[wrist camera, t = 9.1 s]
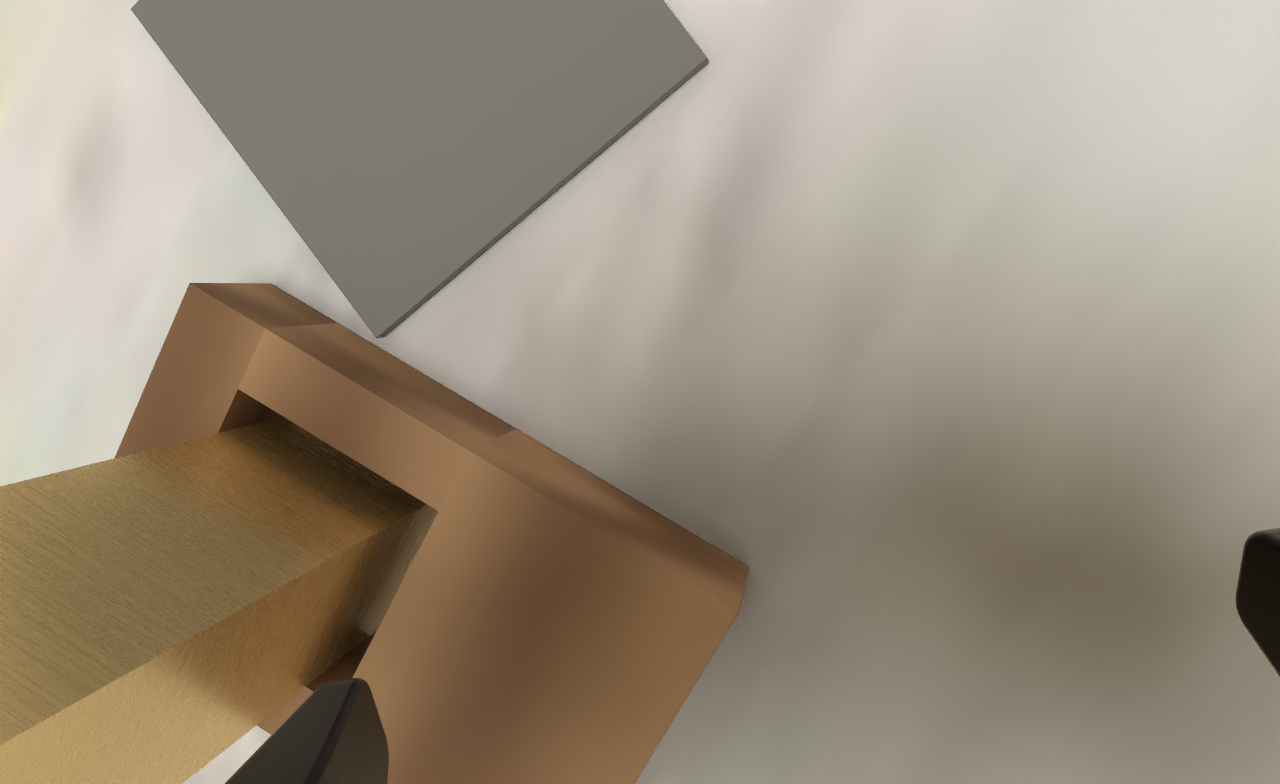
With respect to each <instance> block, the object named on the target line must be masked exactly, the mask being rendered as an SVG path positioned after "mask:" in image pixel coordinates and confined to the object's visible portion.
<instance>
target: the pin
mask: <svg viewBox="0 0 1280 784" xmlns="http://www.w3.org/2000/svg"><path fill="white" fill-rule="evenodd" d="M437 513H438V511H437V510H435V509H434V508H432V507H431V506H429V505H427V504H426V503H424V502H422V501H421V500H419V499H417V498H416V497H414V496H413V495H411V494H409V493H408V492H406V491H404V490H403V489H401V488H399V487H398V486H396V485H395V484H393V483H391V482H390V481H388V480H386V479H385V478H383V477H381V476H380V475H378V474H377V473H375V472H373V471H372V470H370V469H368V468H367V467H365V466H363V465H362V464H360V463H359V462H357V461H355V460H354V459H352V458H350V457H349V456H347V455H345V454H344V453H342V452H341V451H339V450H337V449H336V448H334V447H332V446H331V445H329V444H327V443H326V442H324V441H323V440H321V439H319V438H318V437H316V436H314V435H313V434H311V433H309V432H308V431H306V430H305V429H303V428H301V427H300V426H298V425H296V424H295V423H293V422H291V421H290V420H288V419H287V418H285V417H281V418H277V419H273V420H269V421H265V422H260V423H256V424H252V425H248V426H244V427H240V428H236V429H232V430H228V431H224V432H220V433H216V434H212V435H208V436H204V437H200V438H196V439H192V440H188V441H183V442H179V443H175V444H171V445H167V446H163V447H159V448H155V449H151V450H147V451H143V452H139V453H135V454H131V455H127V456H123V457H119V458H115V459H110V460H106V461H102V462H98V463H94V464H90V465H86V466H82V467H78V468H74V469H70V470H66V471H62V472H58V473H54V474H50V475H46V476H42V477H37V478H33V479H29V480H25V481H21V482H17V483H13V484H9V485H5V486H1V487H0V784H182V783H184V782H185V781H186V780H187V779H189V778H190V777H191V776H192V775H194V774H195V773H196V772H198V771H199V770H200V769H201V768H203V767H204V766H205V765H206V764H208V763H209V762H210V761H211V760H213V759H214V758H215V757H217V756H218V755H219V754H220V753H222V752H223V751H224V750H225V749H227V748H228V747H229V746H231V745H232V744H233V743H234V742H236V741H237V740H238V739H239V738H241V737H242V736H243V735H244V734H246V733H247V732H248V731H250V730H251V729H252V728H253V727H255V726H256V725H257V724H258V723H260V722H261V721H262V720H264V719H265V718H266V717H267V716H269V715H270V714H271V713H272V712H274V711H275V710H276V709H277V708H279V707H280V706H281V705H283V704H284V703H285V702H286V701H288V700H289V699H290V698H291V697H293V696H294V695H295V694H296V693H298V692H299V691H300V690H302V689H303V688H304V687H305V686H307V685H308V684H309V683H310V682H312V681H313V680H314V679H316V678H317V677H318V676H319V675H321V674H322V673H323V672H324V671H326V670H327V669H328V668H329V667H331V666H332V665H333V664H335V663H336V662H337V661H338V660H340V659H341V658H342V657H343V656H345V655H346V654H347V653H349V652H350V651H351V650H352V649H354V648H355V647H356V646H357V645H359V644H360V643H361V642H362V641H364V640H365V639H366V638H368V637H369V636H370V635H371V634H373V633H374V632H375V631H376V630H377V629H378V628H379V626H380V624H381V622H382V620H383V618H384V616H385V614H386V612H387V610H388V608H389V606H390V604H391V602H392V600H393V598H394V597H395V595H396V593H397V591H398V589H399V587H400V585H401V583H402V581H403V579H404V577H405V575H406V573H407V571H408V569H409V567H410V566H411V564H412V562H413V560H414V558H415V556H416V554H417V552H418V550H419V548H420V546H421V544H422V542H423V540H424V538H425V536H426V535H427V533H428V531H429V529H430V527H431V525H432V523H433V521H434V519H435V517H436V515H437Z"/></svg>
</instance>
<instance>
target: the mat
mask: <svg viewBox="0 0 1280 784" xmlns="http://www.w3.org/2000/svg"><path fill="white" fill-rule="evenodd" d="M131 10H132V12H133V13H134V14H135V16H136V17H137V18H138V20H139V21H140V22H141V24H142V25H143V26H144V28H145V29H146V30H147V32H148V33H149V34H150V36H151V37H152V38H153V40H154V41H155V42H156V44H157V45H158V46H159V48H160V49H161V50H162V52H163V53H164V54H165V56H166V57H167V58H168V60H169V61H170V62H171V64H172V65H173V66H174V68H175V69H176V70H177V72H178V73H179V74H180V76H181V77H182V78H183V80H184V81H185V82H186V84H187V85H188V86H189V88H190V89H191V90H192V92H193V93H194V94H195V96H196V97H197V99H198V100H199V101H200V103H201V104H202V105H203V107H204V108H205V109H206V111H207V112H208V113H209V115H210V116H211V117H212V119H213V120H214V121H215V123H216V124H217V125H218V127H219V128H220V129H221V131H222V132H223V133H224V135H225V136H226V137H227V139H228V140H229V141H230V143H231V144H232V145H233V147H234V148H235V149H236V151H237V152H238V153H239V155H240V156H241V157H242V159H243V160H244V161H245V163H246V164H247V165H248V167H249V168H250V169H251V171H252V172H253V173H254V175H255V176H256V177H257V179H258V180H259V181H260V183H261V184H262V186H263V187H264V188H265V190H266V191H267V192H268V194H269V195H270V196H271V198H272V199H273V200H274V202H275V203H276V204H277V206H278V207H279V208H280V210H281V211H282V212H283V214H284V215H285V216H286V218H287V219H288V220H289V222H290V223H291V224H292V226H293V227H294V228H295V230H296V231H297V232H298V234H299V235H300V236H301V238H302V239H303V240H304V242H305V243H306V244H307V246H308V247H309V248H310V250H311V251H312V252H313V254H314V255H315V256H316V258H317V259H318V260H319V262H320V263H321V264H322V266H323V267H324V268H325V270H326V271H327V272H328V274H329V275H330V277H331V278H332V279H333V281H334V282H335V283H336V285H337V286H338V287H339V289H340V290H341V291H342V293H343V294H344V295H345V297H346V298H347V299H348V301H349V302H350V303H351V305H352V306H353V307H354V309H355V310H356V311H357V313H358V314H359V315H360V317H361V318H362V319H363V321H364V322H365V323H366V325H367V326H368V327H369V329H370V330H371V331H372V333H373V334H374V335H375V337H376V338H379V337H385V336H386V335H387V334H388V333H389V332H390V331H392V330H393V329H394V328H395V327H396V326H398V325H399V324H400V323H401V322H402V321H403V320H405V319H406V318H407V317H408V316H409V315H411V314H412V313H413V312H414V311H415V310H416V309H418V308H419V307H420V306H421V305H422V304H424V303H425V302H426V301H427V300H428V299H429V298H431V297H432V296H433V295H434V294H435V293H437V292H438V291H439V290H440V289H441V288H442V287H444V286H445V285H446V284H447V283H448V282H450V281H451V280H452V279H453V278H454V277H455V276H457V275H458V274H459V273H460V272H461V271H463V270H464V269H465V268H466V267H467V266H468V265H470V264H471V263H472V262H473V261H474V260H476V259H477V258H478V257H479V256H480V255H481V254H483V253H484V252H485V251H486V250H487V249H489V248H490V247H491V246H492V245H493V244H494V243H496V242H497V241H498V240H499V239H500V238H502V237H503V236H504V235H505V234H506V233H507V232H509V231H510V230H511V229H512V228H513V227H515V226H516V225H517V224H518V223H519V222H520V221H522V220H523V219H524V218H525V217H526V216H528V215H529V214H530V213H531V212H532V211H533V210H535V209H536V208H537V207H538V206H539V205H541V204H542V203H543V202H544V201H545V200H546V199H548V198H549V197H550V196H551V195H552V194H554V193H555V192H556V191H557V190H558V189H559V188H561V187H562V186H563V185H564V184H565V183H567V182H568V181H569V180H570V179H571V178H572V177H574V176H575V175H576V174H577V173H578V172H580V171H581V170H582V169H583V168H584V167H585V166H587V165H588V164H589V163H590V162H591V161H593V160H594V159H595V158H596V157H597V156H598V155H600V154H601V153H602V152H603V151H604V150H606V149H607V148H608V147H609V146H610V145H611V144H613V143H614V142H615V141H616V140H617V139H619V138H620V137H621V136H622V135H623V134H624V133H626V132H627V131H628V130H629V129H630V128H632V127H633V126H634V125H635V124H636V123H637V122H639V121H640V120H641V119H642V118H643V117H645V116H646V115H647V114H648V113H649V112H650V111H652V110H653V109H654V108H655V107H656V106H658V105H659V104H660V103H661V102H662V101H663V100H665V99H666V98H667V97H668V96H669V95H671V94H672V93H673V92H674V91H675V90H676V89H678V88H679V87H680V86H681V85H682V84H684V83H685V82H686V81H687V80H688V79H689V78H691V77H692V76H693V75H694V74H695V73H697V72H698V71H699V70H700V69H701V68H702V67H704V66H705V65H706V64H707V63H708V62H709V61H708V59H707V57H706V56H705V55H704V53H703V52H702V51H701V49H700V48H699V47H698V45H697V44H696V43H695V42H694V40H693V39H692V38H691V36H690V35H689V34H688V32H687V31H686V30H685V28H684V27H683V26H682V25H681V23H680V22H679V21H678V19H677V18H676V17H675V15H674V14H673V13H672V11H671V10H670V9H669V8H668V6H667V5H666V4H665V2H664V1H663V0H139V1H138V2H137V3H136V4H135V5H134V6H133V7H132V8H131Z"/></svg>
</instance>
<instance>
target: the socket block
mask: <svg viewBox="0 0 1280 784" xmlns="http://www.w3.org/2000/svg"><path fill="white" fill-rule="evenodd" d="M281 417H285V418H287V419H288V420H290V421H291V422H293V423H295V424H296V425H298V426H300V427H301V428H303V429H305V430H306V431H308V432H309V433H311V434H313V435H314V436H316V437H318V438H319V439H321V440H323V441H324V442H326V443H327V444H329V445H331V446H332V447H334V448H336V449H337V450H339V451H341V452H342V453H344V454H345V455H347V456H349V457H350V458H352V459H354V460H355V461H357V462H359V463H360V464H362V465H363V466H365V467H367V468H368V469H370V470H372V471H373V472H375V473H377V474H378V475H380V476H381V477H383V478H385V479H386V480H388V481H390V482H391V483H393V484H395V485H396V486H398V487H399V488H401V489H403V490H404V491H406V492H408V493H409V494H411V495H413V496H414V497H416V498H417V499H419V500H421V501H422V502H424V503H426V504H427V505H429V506H431V507H432V508H434V509H435V510H437V511H438V513H437V515H436V517H435V519H434V521H433V523H432V525H431V527H430V529H429V531H428V533H427V535H426V536H425V538H424V540H423V542H422V544H421V546H420V548H419V550H418V552H417V554H416V556H415V558H414V560H413V562H412V564H411V566H410V567H409V569H408V571H407V573H406V575H405V577H404V579H403V581H402V583H401V585H400V587H399V589H398V591H397V593H396V595H395V597H394V598H393V600H392V602H391V604H390V606H389V608H388V610H387V612H386V614H385V616H384V618H383V620H382V622H381V624H380V626H379V628H378V629H377V631H376V633H375V635H374V637H373V638H372V637H370V636H369V637H368V638H366V639H365V640H364V641H362V642H361V643H360V644H359V645H357V646H356V647H355V648H354V649H352V650H351V651H350V652H349V653H347V654H346V655H345V656H343V657H342V658H341V659H340V660H338V661H337V662H336V663H335V664H333V665H332V666H331V667H329V668H328V669H327V670H326V671H324V672H323V673H322V674H321V675H319V676H318V677H317V678H316V679H314V680H313V681H312V682H310V683H309V684H308V685H307V686H305V687H304V688H303V689H302V690H300V691H299V692H298V693H296V694H295V695H294V696H293V697H291V698H290V699H289V700H288V701H286V702H285V703H284V704H283V705H281V706H280V707H279V708H277V709H276V710H275V711H274V712H272V713H271V714H270V715H269V716H267V717H266V718H265V719H264V720H262V721H261V722H260V723H258V724H257V726H259V727H260V728H262V729H263V730H265V731H266V732H268V733H269V734H271V735H272V734H273V733H274V732H275V731H276V730H277V729H278V728H279V727H280V726H281V725H282V724H283V723H284V722H285V721H286V720H287V719H288V718H289V717H290V716H291V715H292V714H293V713H294V712H295V711H296V710H297V709H298V708H299V707H300V706H301V705H302V704H303V703H304V702H305V701H306V700H307V699H308V697H309V696H310V695H311V694H312V693H313V692H314V691H315V690H316V689H317V688H319V687H320V686H321V685H323V684H325V683H328V682H333V681H339V680H346V679H352V678H361V679H363V680H365V681H366V682H367V684H368V685H369V687H370V689H371V692H372V695H373V698H374V701H375V704H376V707H377V710H378V713H379V716H380V720H381V723H382V726H383V729H384V732H385V735H386V738H387V743H388V750H389V769H388V782H387V784H635V782H636V780H637V779H638V777H639V775H640V774H641V772H642V770H643V769H644V767H645V765H646V764H647V762H648V761H649V759H650V757H651V756H652V754H653V752H654V751H655V749H656V747H657V746H658V744H659V742H660V741H661V739H662V737H663V736H664V734H665V732H666V731H667V729H668V728H669V726H670V724H671V723H672V721H673V719H674V718H675V716H676V714H677V713H678V711H679V709H680V708H681V706H682V704H683V703H684V701H685V700H686V698H687V696H688V695H689V693H690V691H691V690H692V688H693V686H694V685H695V683H696V681H697V680H698V678H699V676H700V675H701V673H702V672H703V670H704V668H705V667H706V665H707V663H708V662H709V660H710V658H711V657H712V655H713V653H714V652H715V650H716V648H717V647H718V645H719V643H720V642H721V640H722V639H723V637H724V635H725V634H726V632H727V630H728V629H729V627H730V625H731V624H732V622H733V620H734V619H735V617H736V615H737V614H738V612H739V608H740V603H741V599H742V595H743V590H744V586H745V582H746V578H747V573H748V569H749V567H748V566H746V565H744V564H743V563H741V562H739V561H738V560H736V559H734V558H733V557H731V556H729V555H727V554H726V553H724V552H722V551H721V550H719V549H717V548H716V547H714V546H712V545H711V544H709V543H707V542H706V541H704V540H702V539H700V538H699V537H697V536H695V535H694V534H692V533H690V532H689V531H687V530H685V529H684V528H682V527H680V526H679V525H677V524H675V523H673V522H672V521H670V520H668V519H667V518H665V517H663V516H662V515H660V514H658V513H657V512H655V511H653V510H652V509H650V508H648V507H647V506H645V505H643V504H641V503H640V502H638V501H636V500H635V499H633V498H631V497H630V496H628V495H626V494H625V493H623V492H621V491H620V490H618V489H616V488H614V487H613V486H611V485H609V484H608V483H606V482H604V481H603V480H601V479H599V478H598V477H596V476H594V475H593V474H591V473H589V472H587V471H586V470H584V469H582V468H581V467H579V466H577V465H576V464H574V463H572V462H571V461H569V460H567V459H566V458H564V457H562V456H561V455H559V454H557V453H555V452H554V451H552V450H550V449H549V448H547V447H545V446H544V445H542V444H540V443H539V442H537V441H535V440H534V439H532V438H530V437H528V436H527V435H525V434H523V433H522V432H520V431H518V430H517V429H515V428H513V427H512V426H510V425H508V424H507V423H505V422H503V421H501V420H500V419H498V418H496V417H495V416H493V415H491V414H490V413H488V412H486V411H485V410H483V409H481V408H480V407H478V406H476V405H475V404H473V403H471V402H469V401H468V400H466V399H464V398H463V397H461V396H459V395H458V394H456V393H454V392H453V391H451V390H449V389H448V388H446V387H444V386H442V385H441V384H439V383H437V382H436V381H434V380H432V379H431V378H429V377H427V376H426V375H424V374H422V373H421V372H419V371H417V370H415V369H414V368H412V367H410V366H409V365H407V364H405V363H404V362H402V361H400V360H399V359H397V358H395V357H394V356H392V355H390V354H389V353H387V352H385V351H383V350H382V349H380V348H378V347H377V346H375V345H373V344H372V343H370V342H368V341H367V340H365V339H363V338H362V337H360V336H358V335H356V334H355V333H353V332H351V331H350V330H348V329H346V328H345V327H343V326H341V325H340V324H338V323H336V322H335V321H333V320H331V319H329V318H328V317H326V316H324V315H323V314H321V313H319V312H318V311H316V310H314V309H313V308H311V307H309V306H308V305H306V304H304V303H303V302H301V301H299V300H297V299H296V298H294V297H292V296H291V295H289V294H287V293H286V292H284V291H282V290H281V289H279V288H277V287H276V286H274V285H272V284H249V283H190V284H189V286H188V288H187V291H186V293H185V295H184V298H183V300H182V302H181V305H180V307H179V309H178V312H177V314H176V316H175V319H174V321H173V323H172V326H171V328H170V330H169V333H168V335H167V337H166V340H165V342H164V344H163V346H162V349H161V351H160V353H159V356H158V358H157V360H156V363H155V365H154V367H153V370H152V372H151V374H150V377H149V379H148V381H147V384H146V386H145V388H144V391H143V393H142V395H141V398H140V400H139V402H138V405H137V407H136V409H135V412H134V414H133V416H132V419H131V421H130V423H129V426H128V428H127V430H126V433H125V435H124V437H123V440H122V442H121V444H120V447H119V449H118V451H117V454H116V456H115V458H119V457H123V456H127V455H131V454H135V453H139V452H143V451H147V450H151V449H155V448H159V447H163V446H167V445H171V444H175V443H179V442H183V441H188V440H192V439H196V438H200V437H204V436H208V435H212V434H216V433H220V432H224V431H228V430H232V429H236V428H240V427H244V426H248V425H252V424H256V423H260V422H265V421H269V420H273V419H277V418H281ZM115 458H114V459H115Z"/></svg>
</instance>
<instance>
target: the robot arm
mask: <svg viewBox="0 0 1280 784" xmlns="http://www.w3.org/2000/svg"><path fill="white" fill-rule="evenodd" d="M1236 607H1237V610H1238V614H1239V616H1240V618H1241V620H1242V622H1243V624H1244V626H1245V627H1246V629H1247V630H1248V631H1249V633H1250V634H1251V636H1252V637H1253V639H1254V640H1255V641H1256V643H1257V644H1258V646H1259V647H1260V649H1261V650H1262V651H1263V653H1264V654H1265V656H1266V657H1267V659H1268V660H1269V662H1270V663H1271V664H1272V666H1273V667H1274V669H1275V670H1276V672H1277V673H1278V674H1279V676H1280V528H1276V529H1270V530H1264V531H1258V532H1255V533H1253V534H1251V535H1250V536H1249V537H1248V539H1247V540H1246V542H1245V545H1244V550H1243V556H1242V562H1241V568H1240V574H1239V580H1238V586H1237V592H1236ZM388 769H389V750H388V743H387V738H386V735H385V732H384V729H383V726H382V723H381V720H380V716H379V713H378V710H377V707H376V704H375V701H374V698H373V695H372V692H371V689H370V687H369V685H368V684H367V682H366V681H365V680H363V679H361V678H352V679H346V680H339V681H333V682H328V683H325V684H323V685H321V686H320V687H319V688H317V689H316V690H315V691H314V692H313V693H312V694H311V695H310V696H309V697H308V699H307V700H306V701H305V702H304V703H303V704H302V705H301V706H300V707H299V708H298V709H297V710H296V711H295V712H294V713H293V714H292V715H291V716H290V717H289V718H288V719H287V720H286V721H285V722H284V723H283V724H282V725H281V726H280V727H279V728H278V729H277V730H276V731H275V732H274V733H273V734H272V736H271V737H270V738H269V739H268V740H267V741H266V742H265V743H264V744H263V745H262V746H261V747H260V748H259V749H258V750H257V751H256V752H255V753H254V754H253V755H252V756H251V757H250V758H249V759H248V760H247V761H246V762H245V763H244V764H243V765H242V766H241V767H240V768H239V769H238V770H237V772H236V773H235V774H234V775H233V776H232V777H231V778H230V779H229V780H228V781H227V782H226V783H225V784H387V782H388Z"/></svg>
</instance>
